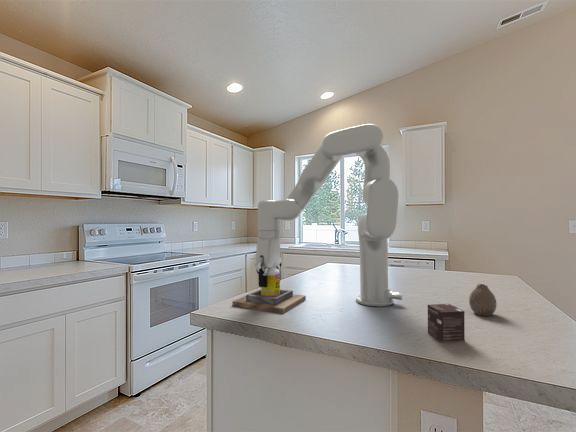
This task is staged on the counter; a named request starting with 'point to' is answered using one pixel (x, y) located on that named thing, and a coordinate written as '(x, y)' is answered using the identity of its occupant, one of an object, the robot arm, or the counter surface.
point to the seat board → (270, 301)
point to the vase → (482, 301)
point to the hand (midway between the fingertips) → (269, 284)
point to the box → (446, 323)
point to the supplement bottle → (272, 283)
